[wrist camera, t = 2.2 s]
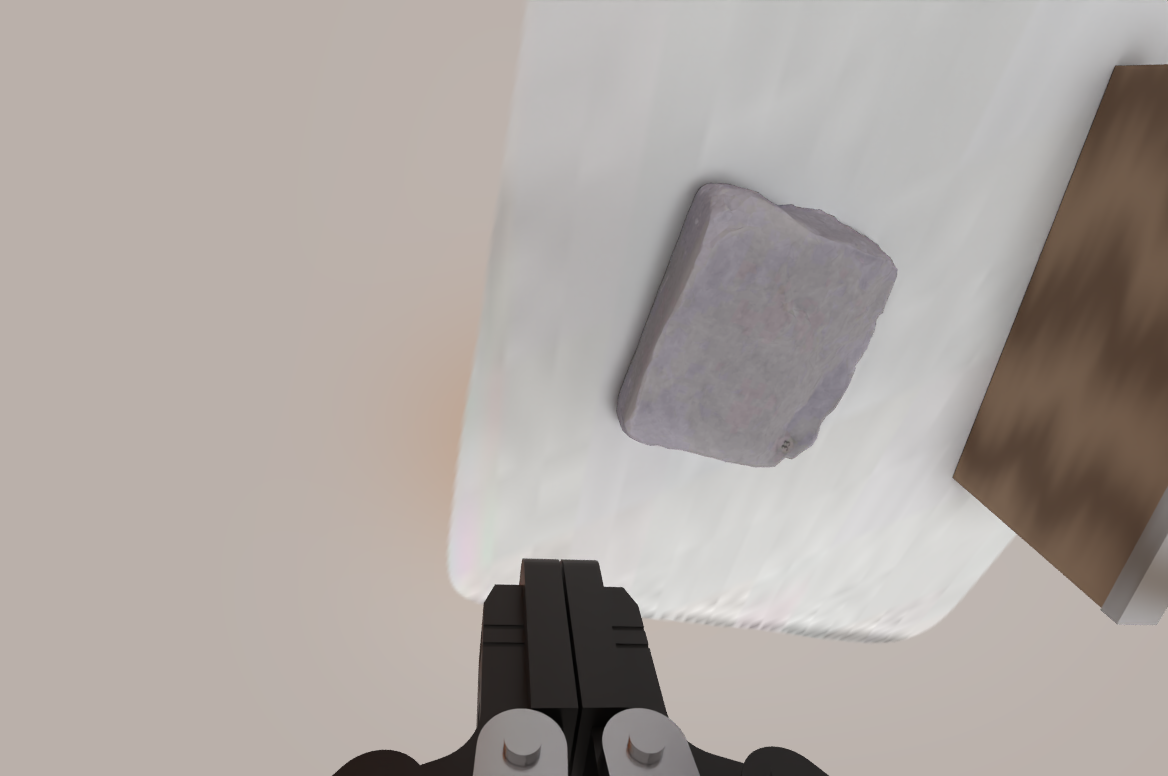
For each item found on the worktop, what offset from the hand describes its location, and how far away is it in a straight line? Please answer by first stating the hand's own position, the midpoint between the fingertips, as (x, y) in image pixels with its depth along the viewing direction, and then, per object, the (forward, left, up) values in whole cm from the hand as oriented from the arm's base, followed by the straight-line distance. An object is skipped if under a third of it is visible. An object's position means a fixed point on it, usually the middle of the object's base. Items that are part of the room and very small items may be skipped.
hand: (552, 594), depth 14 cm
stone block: (0, +10, -19) cm, 21 cm away
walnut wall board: (-3, +24, -18) cm, 30 cm away
